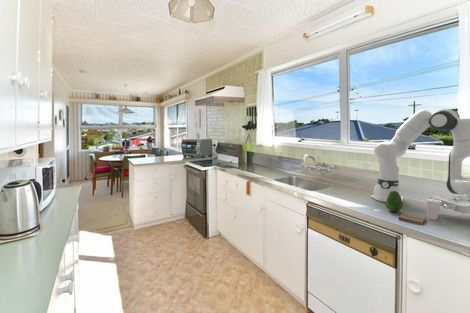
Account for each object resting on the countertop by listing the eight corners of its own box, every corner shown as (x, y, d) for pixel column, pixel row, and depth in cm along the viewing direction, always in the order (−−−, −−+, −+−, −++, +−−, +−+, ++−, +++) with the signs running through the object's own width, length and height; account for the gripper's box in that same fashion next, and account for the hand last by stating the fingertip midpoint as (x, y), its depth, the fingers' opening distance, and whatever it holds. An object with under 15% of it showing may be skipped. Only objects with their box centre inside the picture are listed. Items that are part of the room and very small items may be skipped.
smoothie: (425, 215, 137) (427, 190, 136) (440, 218, 133) (442, 192, 132) (424, 218, 132) (427, 192, 131) (440, 221, 128) (442, 194, 127)
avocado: (388, 208, 149) (389, 188, 148) (403, 211, 143) (405, 191, 142) (383, 211, 143) (385, 190, 142) (399, 214, 138) (401, 193, 136)
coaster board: (403, 215, 137) (403, 212, 137) (425, 220, 130) (426, 217, 130) (398, 219, 130) (398, 216, 130) (422, 225, 123) (422, 222, 123)
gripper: (442, 192, 144) (420, 193, 142) (481, 203, 123) (455, 204, 122) (441, 203, 144) (419, 204, 143) (479, 215, 124) (454, 216, 123)
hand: (436, 204), depth 132 cm, fingers open, 8 cm apart
